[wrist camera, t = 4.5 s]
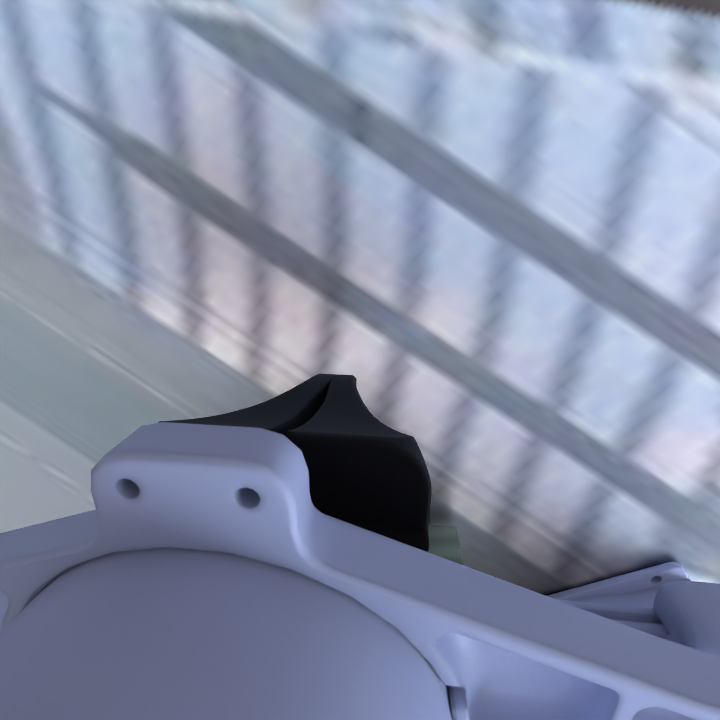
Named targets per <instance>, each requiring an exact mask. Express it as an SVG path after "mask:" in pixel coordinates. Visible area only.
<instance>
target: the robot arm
mask: <svg viewBox="0 0 720 720" xmlns="http://www.w3.org/2000/svg"><path fill="white" fill-rule="evenodd" d="M91 492H92V496H93V500H94V503H95V506H96V510H92V511H88V512H84V513H80V514H76V515H72V516H68V517H64V518H60V519H56V520H52V521H48V522H44V523H40V524H36V525H32V526H28V527H24V528H20V529H16V530H12V531H8V532H4V533H0V720H720V584H716V583H705V582H693V581H690V579H689V578H688V575H687V572H686V570H685V569H684V568H683V566H682V565H681V564H680V563H678V562H667V563H664V564H660V565H656V566H653V567H649V568H646V569H642V570H638V571H635V572H631V573H628V574H624V575H620V576H617V577H613V578H609V579H606V580H602V581H599V582H595V583H591V584H588V585H584V586H581V587H577V588H573V589H570V590H566V591H562V592H559V593H555V594H552V595H548V596H545V595H542V594H540V593H537V592H534V591H531V590H529V589H526V588H523V587H521V586H518V585H515V584H512V583H510V582H507V581H504V580H502V579H499V578H496V577H493V576H491V575H488V574H485V573H483V572H480V571H477V570H474V569H472V568H469V567H466V566H464V565H461V564H458V563H456V562H453V561H450V560H447V559H445V558H442V557H439V556H437V555H434V554H431V553H428V551H429V535H428V525H429V515H430V504H431V482H430V477H429V473H428V470H427V467H426V464H425V461H424V458H423V456H422V453H421V451H420V449H419V447H418V445H417V442H416V440H415V439H414V437H412V436H409V435H406V434H403V433H400V432H397V431H395V430H393V429H391V428H389V427H388V426H386V425H384V424H383V423H381V422H380V421H379V420H378V419H376V418H375V417H374V416H373V415H372V414H371V413H370V412H369V410H368V409H367V407H366V406H365V404H364V403H363V401H362V399H361V397H360V395H359V393H358V391H357V388H356V378H355V377H354V376H353V375H335V374H318V375H315V376H313V377H312V378H310V379H308V380H307V381H305V382H303V383H301V384H300V385H298V386H296V387H294V388H293V389H291V390H289V391H287V392H285V393H283V394H281V395H279V396H277V397H275V398H273V399H270V400H268V401H266V402H263V403H260V404H258V405H255V406H252V407H249V408H245V409H242V410H238V411H234V412H230V413H226V414H222V415H216V416H211V417H204V418H197V419H188V420H175V421H159V422H158V423H154V424H149V425H144V426H141V427H139V428H138V429H137V430H136V431H134V432H133V433H132V434H131V435H129V436H128V437H127V438H126V439H125V440H123V441H122V442H121V443H120V444H118V445H117V446H116V447H115V448H113V449H112V450H111V451H110V452H108V453H107V454H106V455H105V456H104V457H103V458H102V459H101V460H100V461H99V462H98V463H97V464H96V466H95V467H94V468H93V469H92V470H91Z"/></svg>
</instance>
